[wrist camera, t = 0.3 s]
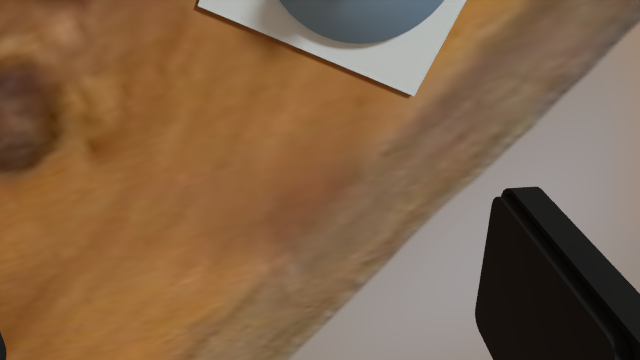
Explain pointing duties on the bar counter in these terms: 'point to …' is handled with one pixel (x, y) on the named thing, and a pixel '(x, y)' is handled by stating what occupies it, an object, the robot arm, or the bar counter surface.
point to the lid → (360, 17)
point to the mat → (367, 59)
